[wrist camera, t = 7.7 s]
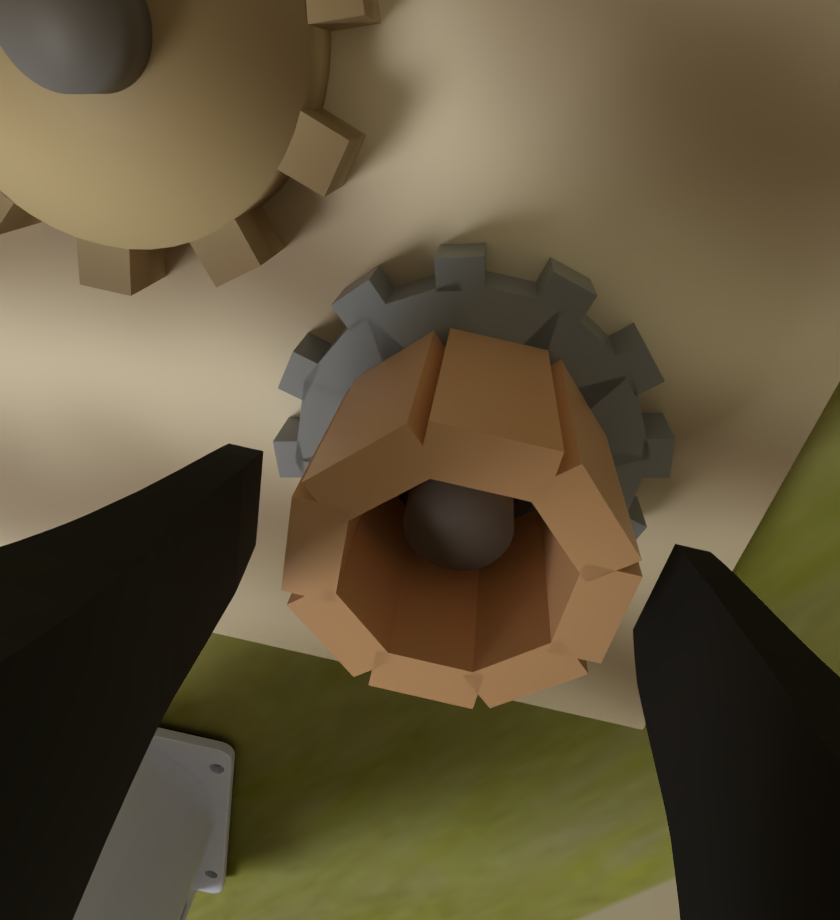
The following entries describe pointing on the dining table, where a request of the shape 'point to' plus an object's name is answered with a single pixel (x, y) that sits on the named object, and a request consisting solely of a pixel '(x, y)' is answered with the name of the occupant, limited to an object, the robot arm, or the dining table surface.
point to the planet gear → (469, 477)
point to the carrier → (410, 242)
